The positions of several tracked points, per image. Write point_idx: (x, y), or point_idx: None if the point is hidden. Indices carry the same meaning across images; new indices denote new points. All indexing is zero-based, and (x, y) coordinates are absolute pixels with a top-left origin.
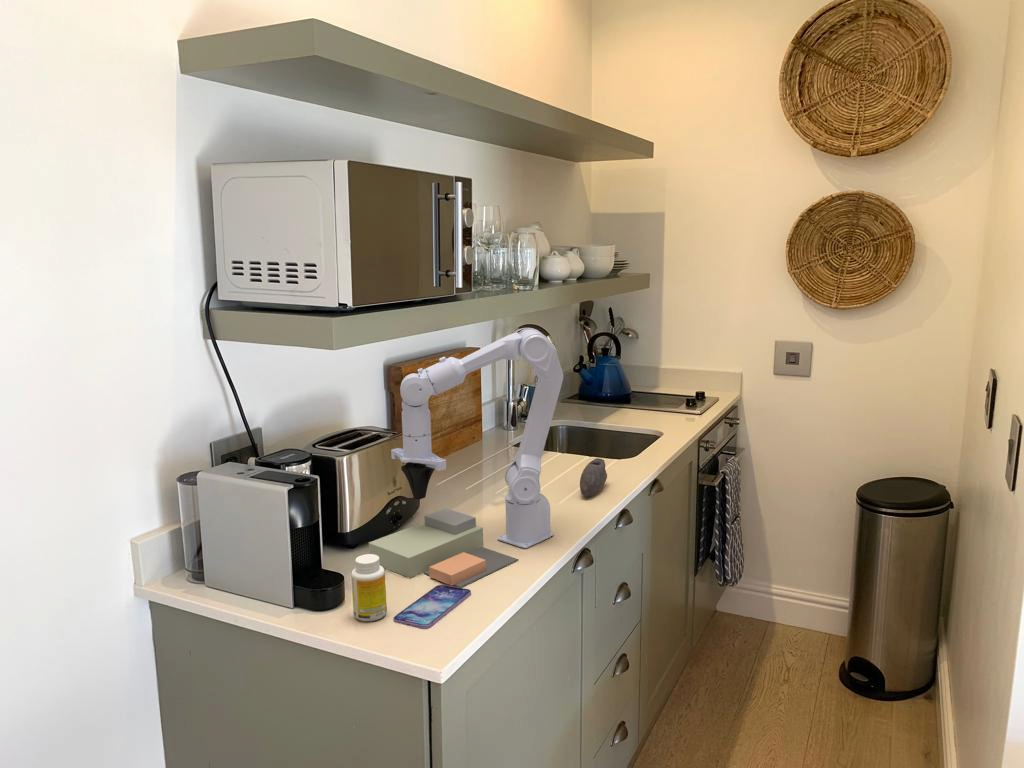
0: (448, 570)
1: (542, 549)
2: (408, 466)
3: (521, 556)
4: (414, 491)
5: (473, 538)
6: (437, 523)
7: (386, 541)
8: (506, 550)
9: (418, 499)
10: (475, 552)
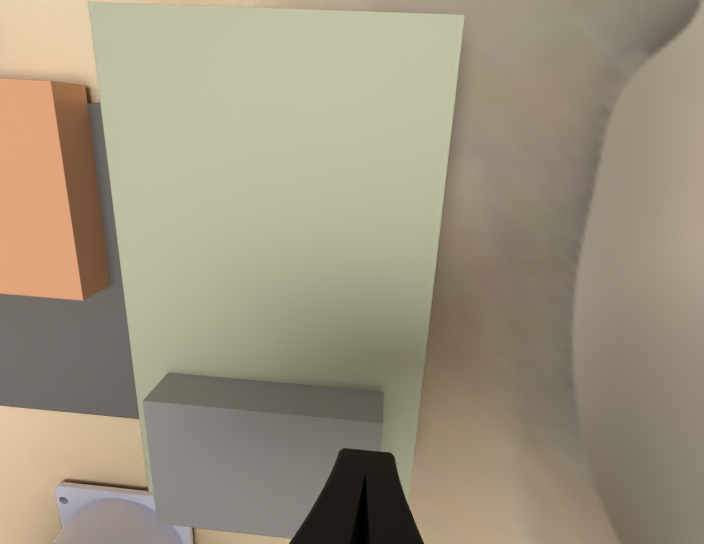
0: None
1: (27, 504)
2: None
3: (26, 432)
4: (359, 493)
5: None
6: (280, 401)
7: (383, 103)
8: (99, 445)
9: (340, 452)
10: None
